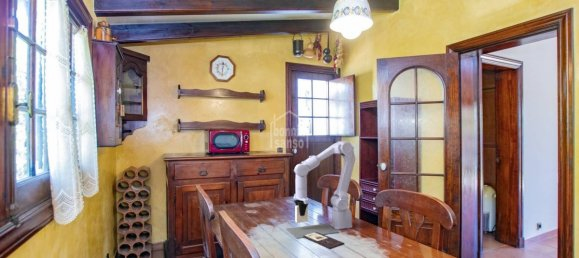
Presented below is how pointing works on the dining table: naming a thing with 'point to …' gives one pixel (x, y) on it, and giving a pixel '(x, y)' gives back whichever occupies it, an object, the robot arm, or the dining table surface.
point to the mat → (311, 230)
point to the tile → (300, 218)
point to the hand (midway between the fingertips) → (301, 215)
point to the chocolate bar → (323, 240)
